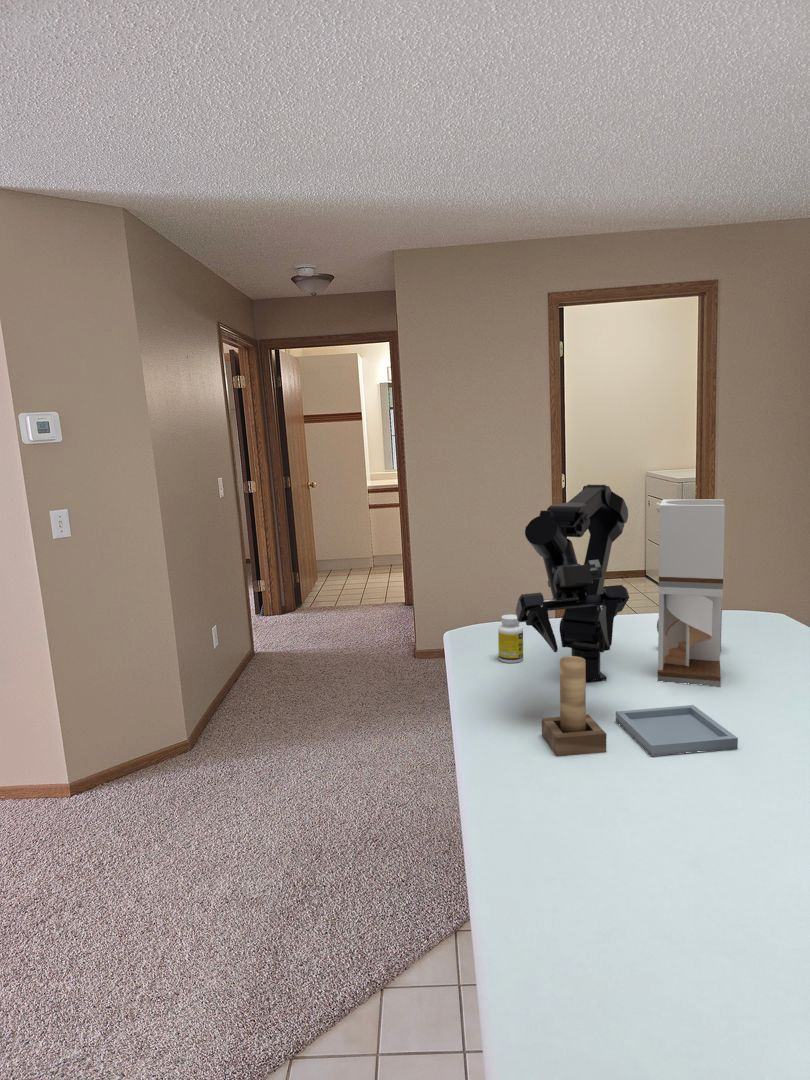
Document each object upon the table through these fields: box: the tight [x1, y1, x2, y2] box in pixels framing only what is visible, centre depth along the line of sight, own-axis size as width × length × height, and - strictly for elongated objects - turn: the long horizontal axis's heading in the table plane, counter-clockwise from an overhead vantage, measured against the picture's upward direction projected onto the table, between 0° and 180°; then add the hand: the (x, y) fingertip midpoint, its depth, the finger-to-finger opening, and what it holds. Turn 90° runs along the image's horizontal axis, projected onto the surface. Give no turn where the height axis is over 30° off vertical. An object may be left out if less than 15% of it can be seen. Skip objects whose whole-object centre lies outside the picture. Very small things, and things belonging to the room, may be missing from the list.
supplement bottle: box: [497, 614, 524, 664], centre depth 162 cm, size 5×5×10 cm
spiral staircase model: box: [657, 498, 726, 688], centre depth 145 cm, size 11×11×35 cm
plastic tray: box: [615, 704, 739, 757], centre depth 121 cm, size 14×14×2 cm
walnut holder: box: [541, 713, 607, 757], centre depth 119 cm, size 8×8×3 cm
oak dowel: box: [559, 655, 587, 733], centre depth 118 cm, size 4×4×14 cm
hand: (583, 648), depth 123 cm, fingers open, 9 cm apart
